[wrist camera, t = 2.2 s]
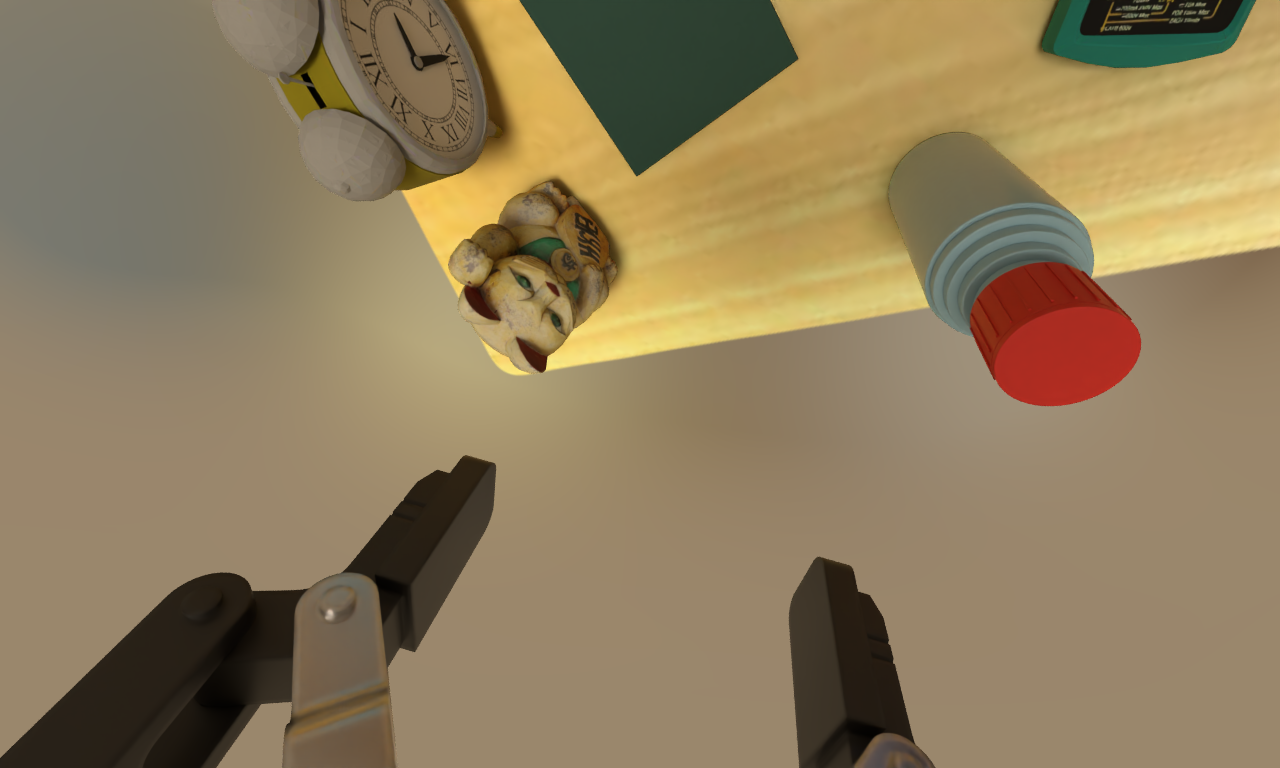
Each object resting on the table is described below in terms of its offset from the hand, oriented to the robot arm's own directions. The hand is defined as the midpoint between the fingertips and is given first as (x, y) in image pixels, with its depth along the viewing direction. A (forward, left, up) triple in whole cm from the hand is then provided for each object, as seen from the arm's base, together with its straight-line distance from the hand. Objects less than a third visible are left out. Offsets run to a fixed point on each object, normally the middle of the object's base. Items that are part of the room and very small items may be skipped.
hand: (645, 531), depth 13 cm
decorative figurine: (+14, -4, -29) cm, 32 cm away
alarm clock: (+13, -18, -29) cm, 36 cm away
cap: (-10, +6, -13) cm, 17 cm away
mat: (0, -13, -29) cm, 31 cm away
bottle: (-10, +6, -29) cm, 31 cm away
